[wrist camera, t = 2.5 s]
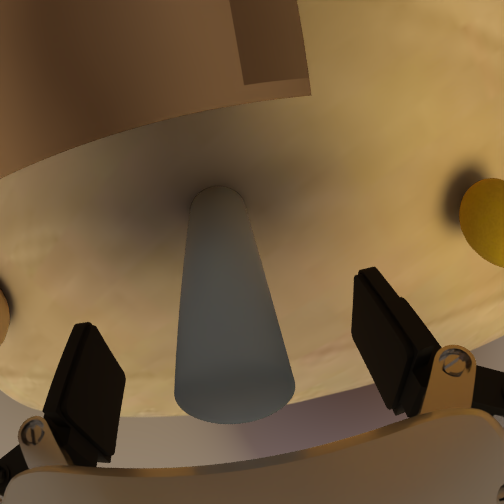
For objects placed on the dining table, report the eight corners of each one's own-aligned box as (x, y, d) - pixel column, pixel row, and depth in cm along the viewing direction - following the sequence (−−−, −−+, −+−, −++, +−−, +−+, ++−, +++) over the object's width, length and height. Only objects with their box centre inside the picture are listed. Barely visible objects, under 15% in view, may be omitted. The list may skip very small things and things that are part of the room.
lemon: (494, 169, 19) (568, 213, 12) (476, 231, 21) (539, 286, 15) (449, 158, 18) (534, 205, 11) (431, 230, 21) (499, 294, 14)
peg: (184, 192, 17) (156, 368, 7) (241, 181, 17) (291, 346, 7) (197, 242, 19) (194, 429, 9) (250, 231, 19) (297, 412, 9)
